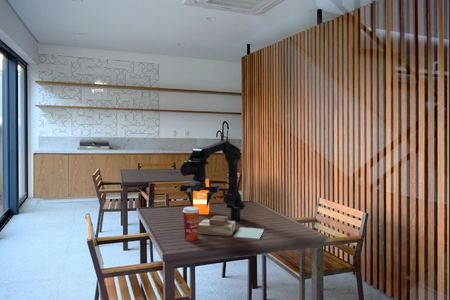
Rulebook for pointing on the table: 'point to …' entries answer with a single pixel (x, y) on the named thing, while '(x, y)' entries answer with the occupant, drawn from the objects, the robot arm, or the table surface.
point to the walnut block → (218, 220)
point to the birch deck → (216, 228)
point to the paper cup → (191, 223)
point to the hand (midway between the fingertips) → (199, 205)
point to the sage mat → (249, 233)
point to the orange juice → (201, 200)
